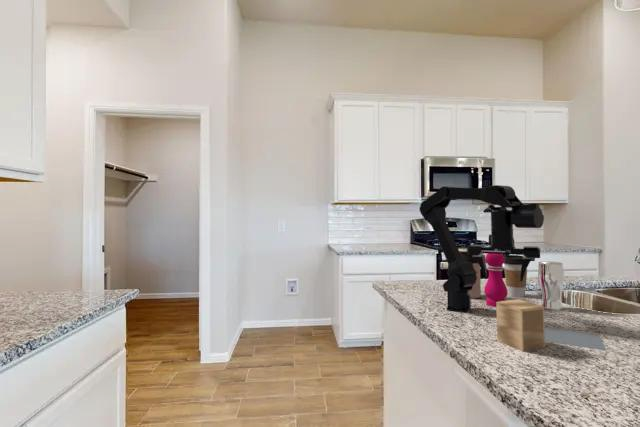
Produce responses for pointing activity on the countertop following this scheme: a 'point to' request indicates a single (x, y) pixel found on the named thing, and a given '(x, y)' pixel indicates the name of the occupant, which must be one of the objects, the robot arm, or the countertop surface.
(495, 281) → the pepper mill
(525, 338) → the cover box
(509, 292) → the coffee cup
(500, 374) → the countertop surface
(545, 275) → the white drink can
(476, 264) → the travel mug
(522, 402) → the countertop surface
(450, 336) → the countertop surface
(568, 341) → the slate mat
